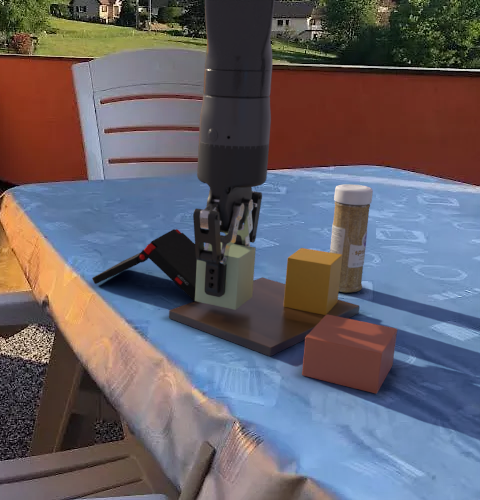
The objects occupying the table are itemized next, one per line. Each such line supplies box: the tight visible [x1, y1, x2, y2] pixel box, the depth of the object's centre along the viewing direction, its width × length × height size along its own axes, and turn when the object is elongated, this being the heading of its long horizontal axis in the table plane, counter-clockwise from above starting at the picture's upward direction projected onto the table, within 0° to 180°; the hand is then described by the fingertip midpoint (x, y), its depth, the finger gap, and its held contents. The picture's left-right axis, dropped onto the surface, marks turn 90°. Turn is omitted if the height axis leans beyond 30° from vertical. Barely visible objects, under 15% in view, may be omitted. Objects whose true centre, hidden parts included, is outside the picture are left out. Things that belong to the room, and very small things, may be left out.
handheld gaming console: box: [91, 228, 197, 301], centre depth 92 cm, size 9×12×10 cm
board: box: [168, 277, 360, 357], centre depth 82 cm, size 18×14×1 cm
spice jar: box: [329, 184, 374, 294], centre depth 91 cm, size 5×5×14 cm
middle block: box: [194, 243, 257, 310], centre depth 80 cm, size 5×5×6 cm
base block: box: [301, 314, 398, 395], centre depth 68 cm, size 7×7×4 cm
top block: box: [284, 247, 342, 315], centre depth 83 cm, size 5×5×6 cm
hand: (224, 287), depth 81 cm, fingers closed on middle block, 5 cm apart
